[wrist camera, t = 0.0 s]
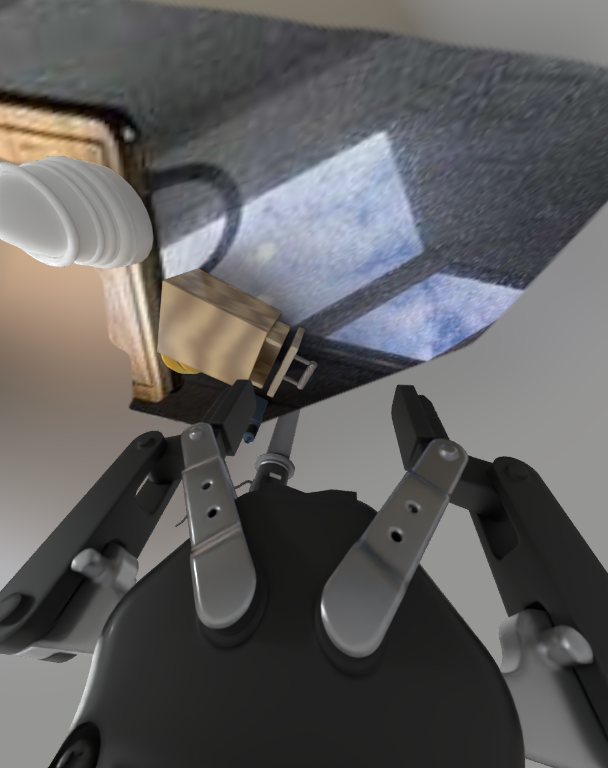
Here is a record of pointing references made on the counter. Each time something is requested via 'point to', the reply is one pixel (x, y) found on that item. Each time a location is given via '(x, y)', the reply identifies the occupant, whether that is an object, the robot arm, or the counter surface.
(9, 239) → the honey pot
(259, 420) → the vaping device
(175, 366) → the bread roll
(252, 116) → the counter surface
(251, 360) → the cabinet
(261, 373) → the drawer
